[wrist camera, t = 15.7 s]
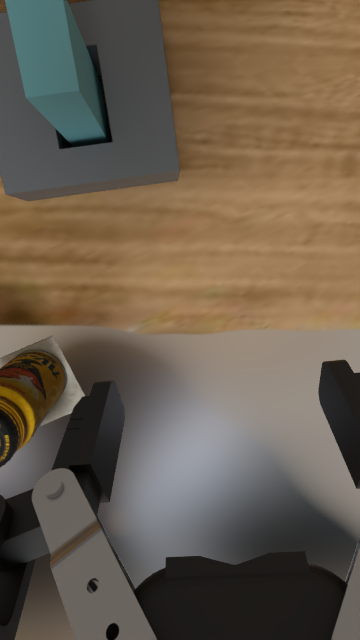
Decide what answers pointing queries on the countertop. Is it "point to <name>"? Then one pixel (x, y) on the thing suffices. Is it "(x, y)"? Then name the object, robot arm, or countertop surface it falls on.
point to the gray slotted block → (122, 104)
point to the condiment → (33, 393)
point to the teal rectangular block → (58, 70)
